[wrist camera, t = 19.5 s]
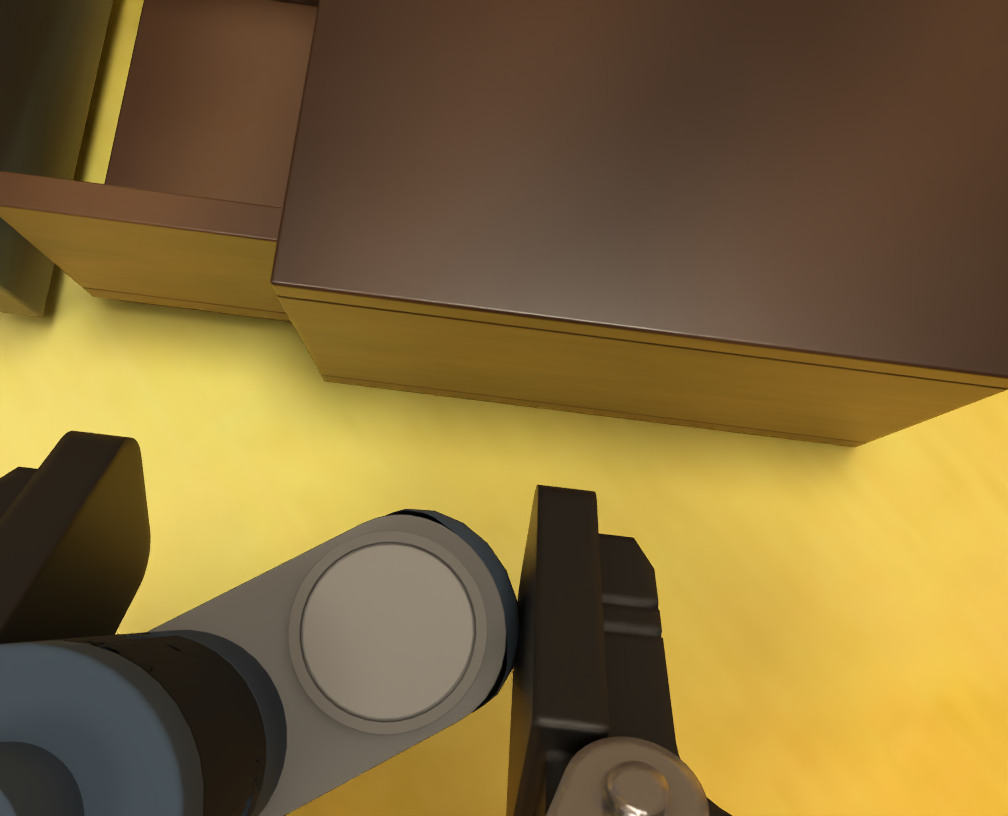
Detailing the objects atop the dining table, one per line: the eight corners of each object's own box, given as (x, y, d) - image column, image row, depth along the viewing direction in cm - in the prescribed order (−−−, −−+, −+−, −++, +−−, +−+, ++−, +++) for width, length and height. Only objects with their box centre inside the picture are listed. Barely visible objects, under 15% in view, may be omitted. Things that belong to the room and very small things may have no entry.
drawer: (-210, 286, 26) (-435, 179, 20) (-108, -76, 28) (-279, -282, 22) (520, 378, 27) (544, 304, 20) (561, 17, 29) (595, -156, 22)
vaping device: (198, 653, 17) (-368, 755, 5) (459, 521, 18) (458, 358, 6) (256, 789, 17) (-219, 1211, 5) (522, 648, 17) (651, 732, 6)
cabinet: (323, 381, 27) (268, 284, 19) (385, -7, 30) (359, -245, 22) (856, 447, 28) (1032, 381, 19) (871, 60, 30) (1033, -146, 22)
